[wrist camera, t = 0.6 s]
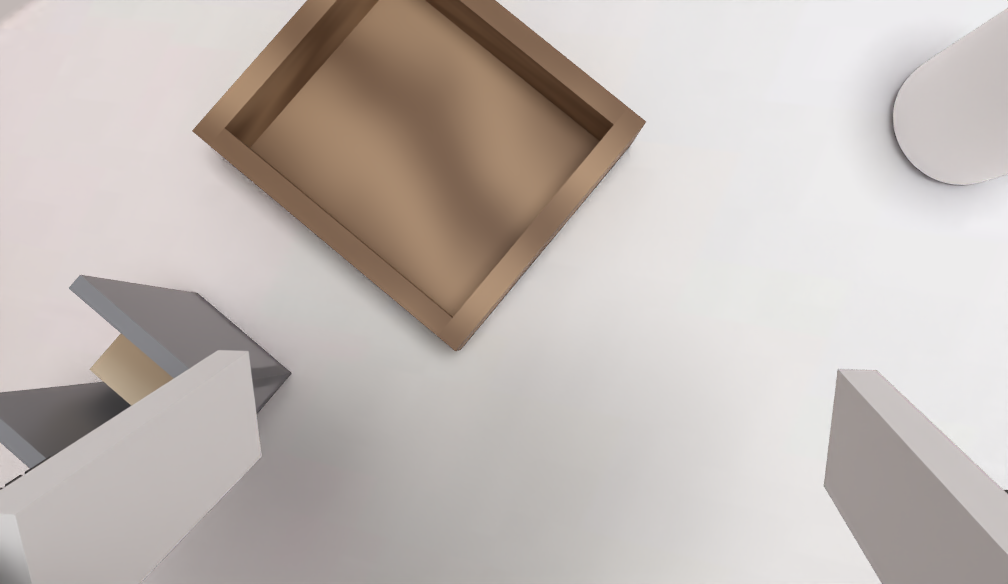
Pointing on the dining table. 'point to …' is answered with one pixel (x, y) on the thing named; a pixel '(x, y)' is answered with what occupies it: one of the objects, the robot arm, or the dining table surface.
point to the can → (959, 109)
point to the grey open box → (155, 331)
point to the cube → (129, 371)
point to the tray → (423, 144)
